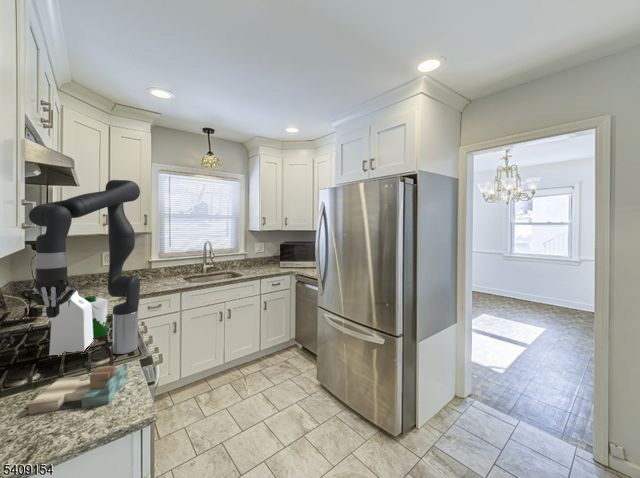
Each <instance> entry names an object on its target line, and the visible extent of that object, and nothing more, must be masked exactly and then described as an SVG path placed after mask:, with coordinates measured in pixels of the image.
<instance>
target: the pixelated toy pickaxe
mask: <svg viewBox="0 0 640 478" xmlns="http://www.w3.org/2000/svg"><path fill="white" fill-rule="evenodd" d="M127 368H128V364H127V363H123V364H122V365H121V366H120V368H119V369H118V370H117V371H115V375H114V376H113V377H112V378H111V379H110V380H109V382H108V383H107V384H106V385H105V389H96V390H90V379H88V380H85V375H79V376H70V377H60V378H58V379H57V380H56V381H54V382H53V383H52V384H51V385H50V386H48V387H47V388H46V389H45V390H44V391H42V393H40V394H38V396H37V397H35V398H34V399H33V400H32V401H30V402H29V403H28V414H29V415H30V414H39V413H47V412H48V413H49V412H54V411H55V412H56V411H64V410H72V409H78V408H87V407H96V406H103V405H109V404H110V403H111V401H112V400H113V398H114V397H115V396H116V395H117V393H118V392H119V390H121V388H122V387H123V385H125V382H126V381H127V380H128V375H127V374H128V373H127V372H128V369H127Z"/></svg>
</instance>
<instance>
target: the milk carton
mask: <svg viewBox="0 0 640 478" xmlns="http://www.w3.org/2000/svg"><path fill="white" fill-rule="evenodd" d="M84 299H85V300H87V301H88V302H90V303H91V305H92V321H93V338H94V339H97V338H101V336H102V337H105V336H107V335H108V305H109V304H108V303H109V300H108V299H106V298H104V297H97V298H96V295H92V296H91V295H90V296H85V297H84ZM106 334H107V335H106ZM104 335H105V336H104Z"/></svg>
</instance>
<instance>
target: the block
mask: <svg viewBox="0 0 640 478" xmlns="http://www.w3.org/2000/svg"><path fill="white" fill-rule="evenodd" d="M115 373H116V365H108V366H107V365H106V366H97V368H96V369H95V370H94V371H92V372H91V374H89V380H90V390H96V389H105V385H106V384H107V383H108V382H109V380H110V379H111V378H112V377H113V376H114V375H115Z"/></svg>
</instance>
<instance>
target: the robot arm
mask: <svg viewBox="0 0 640 478" xmlns="http://www.w3.org/2000/svg"><path fill="white" fill-rule="evenodd" d="M104 189H105V190H102V191H101V190H100V191H94V192H89V193H83V194H79V195H77V196H73V197H69V198H67V199H64V200H63V199H62V200H58V201H53V202H47V203H46V202H45V203H41V204H39V205H36V206H34V207H33V208H31V210H30V211H29V213H28V218H29V221H30V222H31V223H32V224H34V225H36V226H39V227H45V228H46V227H47V228H46V229H45V230H46V231H45V233H42V234H40V235H38V236H36V240H35V241H36V242H35V250H36V251H35V255H36V256H35V260H34V266H35V282H36V283H35V284H34V287H33V288H32V289H30V290H28V291H26V292H25V294H26V295H27V296H28V297H29V298H31V299H32V300H33V301H34V302H35V303H36V304H37V306H40V307H41V306H44V307H45V315H46V317H48V319H52V318H54V317H56V316H57V315H58V314H59V306H60V305H62V304H63V303H65V302H66V301H67V300H68V299H69V298H70V297H71V296H72V295H73V294H74V293H75V292H76V291H77V292H78V289H77V288H76V287H71V285H70V283H69V282H68V256H67V242H66V241H67V238H68V235H69V232H70V229H71V225H72V220H73V219H77V218H81V217H84V216H87V215H89V214H91V213H94V212H97V211H100V210H102V209H105V208H107V217H108V249H109V250H108V251H109V252H108V253H109V256H108V257H109V258H108V259H109V261H108V263H109V265H108V275H107V276H108V279H107V292H108V294H109V296H110V297H113V298H125V301H124V302H122V303H119V304H116V305H114V306H113V308H112V353H113V354H115V355H123V354H129V353H131V352H134V351H135V350H137V349H138V348H139V304H140V292H141V290H140V289H141V282H140V279H139V277H138V276H137V275H135V276H134V275H123V267H124V264H125V262H126V261H127V259H128V258H129V256H130V255H131V254H132V252H133V251H134V249H135V246H136V244H135V243H136V242H135V241H136V240H135V237H136V235H135V229H134V227H133V226H132V224H131V222H130V221H129V220H128V218H127V216H126V214H125V208H124V203H129V202H134V201H136V200H137V199H139V197H140V195H141V189H140V186H139V185H138V184H137V183H136V182H135V181H132V180H129V179H128V180H127V179H111V180H109V181H107V183H106V185H105V188H104ZM64 292H65V294H64ZM63 294H64V295H63ZM62 295H63V296H62Z"/></svg>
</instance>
